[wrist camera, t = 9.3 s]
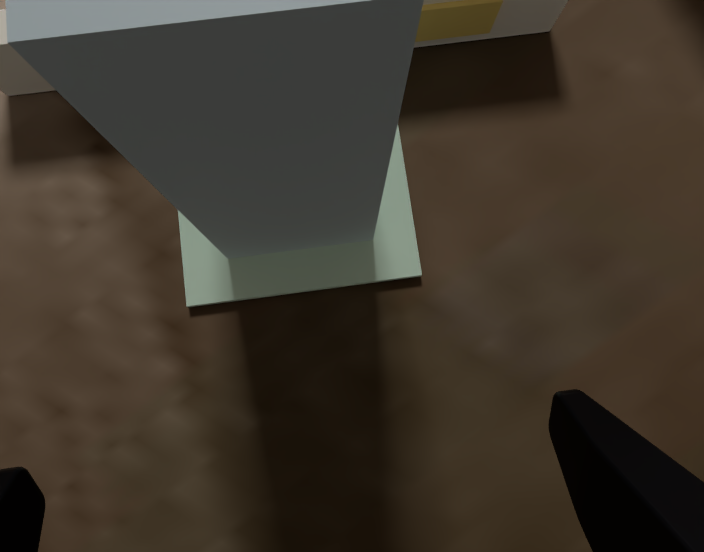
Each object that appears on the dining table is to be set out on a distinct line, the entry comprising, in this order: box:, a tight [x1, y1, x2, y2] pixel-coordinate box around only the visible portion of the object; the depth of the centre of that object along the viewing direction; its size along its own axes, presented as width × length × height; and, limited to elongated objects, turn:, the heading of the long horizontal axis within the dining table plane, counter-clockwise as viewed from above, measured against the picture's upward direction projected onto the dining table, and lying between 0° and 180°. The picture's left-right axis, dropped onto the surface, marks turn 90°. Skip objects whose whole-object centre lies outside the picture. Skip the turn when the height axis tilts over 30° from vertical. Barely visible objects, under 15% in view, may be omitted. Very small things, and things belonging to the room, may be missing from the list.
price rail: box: [0, 0, 568, 96], centre depth 20 cm, size 1×20×3 cm, turn 97°
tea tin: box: [6, 0, 424, 259], centre depth 14 cm, size 5×5×13 cm
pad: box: [178, 124, 422, 307], centre depth 20 cm, size 8×8×1 cm
